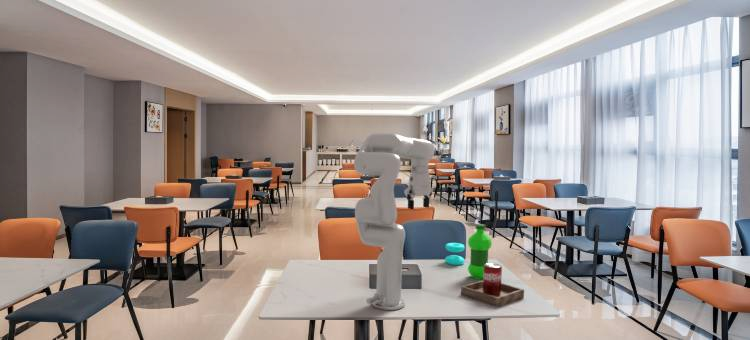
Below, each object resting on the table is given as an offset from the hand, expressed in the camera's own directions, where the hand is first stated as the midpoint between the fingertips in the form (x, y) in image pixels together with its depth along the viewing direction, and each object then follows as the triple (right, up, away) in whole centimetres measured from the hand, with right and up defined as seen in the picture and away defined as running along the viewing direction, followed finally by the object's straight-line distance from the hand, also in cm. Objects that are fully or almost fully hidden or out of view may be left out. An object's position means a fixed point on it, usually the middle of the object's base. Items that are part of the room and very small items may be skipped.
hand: (418, 208), depth 205 cm
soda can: (+29, -34, -16) cm, 47 cm away
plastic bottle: (+29, -34, +10) cm, 46 cm away
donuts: (+22, -32, +35) cm, 52 cm away
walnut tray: (+29, -35, -16) cm, 48 cm away
